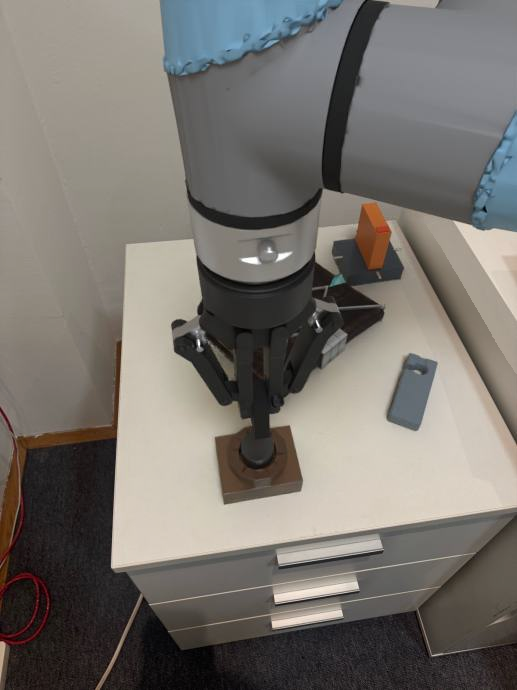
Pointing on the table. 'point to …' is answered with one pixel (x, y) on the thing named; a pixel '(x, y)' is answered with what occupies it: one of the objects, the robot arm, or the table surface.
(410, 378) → the bracket
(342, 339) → the book
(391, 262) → the plate
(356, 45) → the robot arm
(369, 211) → the orange handle lever
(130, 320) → the table surface
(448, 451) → the table surface
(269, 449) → the release button
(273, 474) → the block
